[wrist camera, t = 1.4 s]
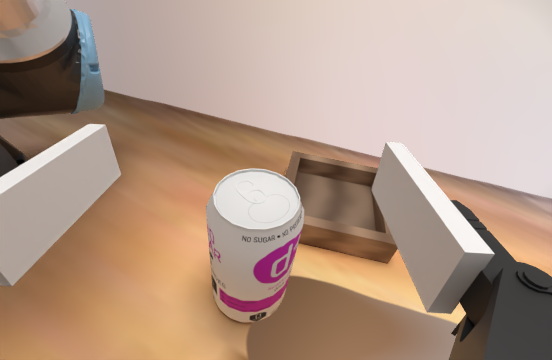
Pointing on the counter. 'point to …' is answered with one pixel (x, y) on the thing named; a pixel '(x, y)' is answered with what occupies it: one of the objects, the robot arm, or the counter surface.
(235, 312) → the supplement can
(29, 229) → the robot arm
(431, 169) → the counter surface
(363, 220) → the tray
